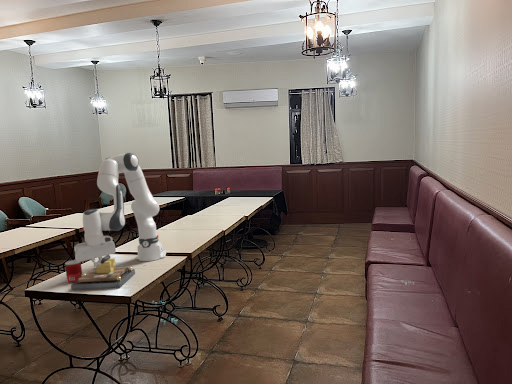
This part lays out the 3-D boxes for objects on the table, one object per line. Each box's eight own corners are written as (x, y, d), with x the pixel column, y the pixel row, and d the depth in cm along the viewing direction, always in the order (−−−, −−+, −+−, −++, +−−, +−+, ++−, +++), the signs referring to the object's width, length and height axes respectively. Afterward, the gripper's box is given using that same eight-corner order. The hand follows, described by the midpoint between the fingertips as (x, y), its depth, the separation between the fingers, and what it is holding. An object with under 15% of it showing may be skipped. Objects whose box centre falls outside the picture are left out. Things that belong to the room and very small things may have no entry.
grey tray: (91, 275, 230) (90, 267, 229) (135, 273, 228) (134, 265, 228) (71, 290, 208) (70, 281, 208) (119, 288, 206) (118, 278, 206)
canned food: (85, 280, 224) (82, 261, 222) (70, 284, 218) (67, 264, 217) (79, 277, 229) (77, 258, 228) (65, 281, 224) (62, 262, 222)
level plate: (94, 270, 228) (92, 254, 227) (128, 269, 227) (126, 252, 226) (78, 282, 210) (75, 264, 208) (115, 280, 208) (112, 262, 207)
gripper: (75, 245, 200) (79, 272, 202) (115, 237, 213) (118, 261, 215) (71, 243, 205) (75, 269, 206) (110, 235, 218) (113, 259, 220)
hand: (97, 265), depth 211 cm, fingers closed
